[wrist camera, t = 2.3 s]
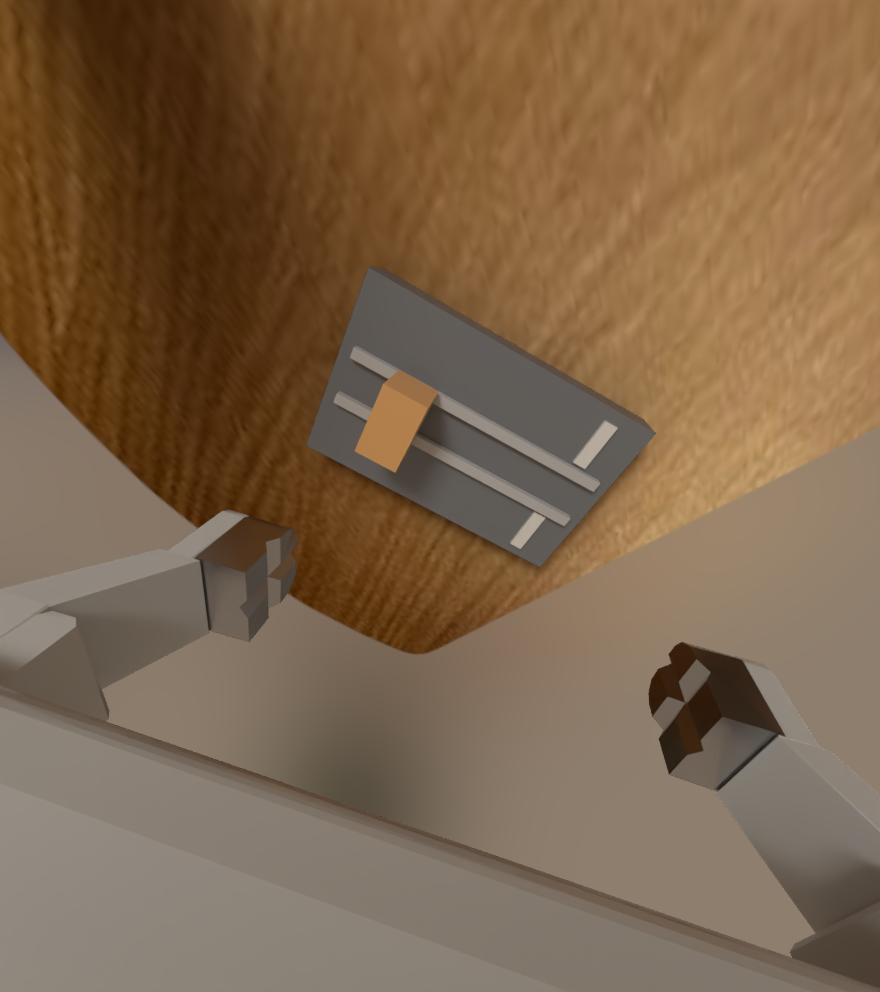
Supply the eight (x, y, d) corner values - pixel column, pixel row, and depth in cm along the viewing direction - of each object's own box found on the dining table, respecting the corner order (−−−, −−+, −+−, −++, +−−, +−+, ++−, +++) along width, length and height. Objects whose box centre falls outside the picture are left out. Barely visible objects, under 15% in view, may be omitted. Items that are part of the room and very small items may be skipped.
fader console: (321, 432, 35) (302, 448, 32) (381, 267, 28) (365, 267, 25) (538, 546, 37) (540, 571, 34) (643, 419, 30) (658, 436, 27)
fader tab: (375, 426, 30) (354, 451, 26) (402, 367, 28) (383, 383, 24) (411, 445, 31) (395, 472, 27) (440, 388, 28) (428, 408, 24)
